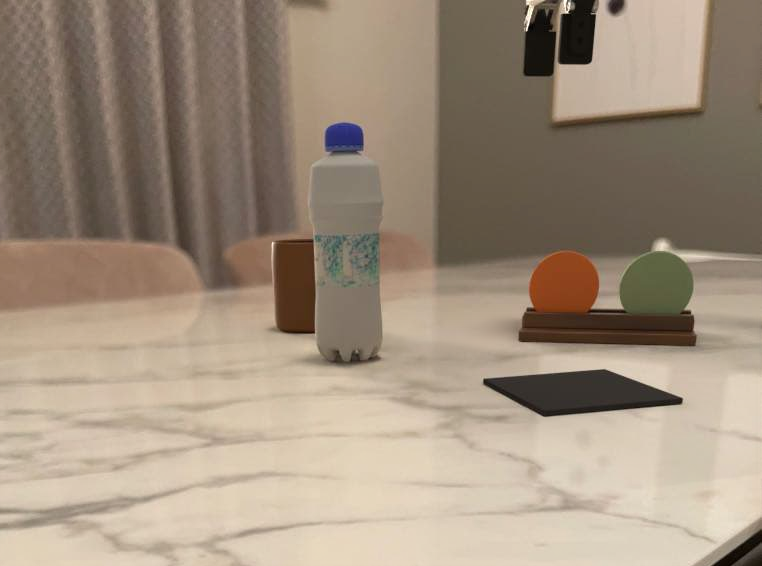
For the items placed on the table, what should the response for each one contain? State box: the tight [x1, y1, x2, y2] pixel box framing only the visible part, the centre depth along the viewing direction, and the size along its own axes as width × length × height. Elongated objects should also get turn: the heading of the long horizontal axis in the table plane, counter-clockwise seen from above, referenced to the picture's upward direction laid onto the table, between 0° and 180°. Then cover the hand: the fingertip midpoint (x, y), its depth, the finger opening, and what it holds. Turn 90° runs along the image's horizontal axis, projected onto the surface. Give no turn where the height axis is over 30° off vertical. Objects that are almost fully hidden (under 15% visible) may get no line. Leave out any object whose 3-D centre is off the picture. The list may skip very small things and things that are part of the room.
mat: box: [482, 368, 684, 417], centre depth 65 cm, size 11×11×1 cm
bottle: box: [307, 121, 384, 363], centre depth 76 cm, size 7×7×20 cm
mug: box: [271, 238, 316, 333], centre depth 95 cm, size 12×8×9 cm, turn 81°
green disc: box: [618, 250, 695, 314], centre depth 85 cm, size 2×7×7 cm, turn 75°
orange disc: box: [528, 250, 600, 313], centre depth 87 cm, size 2×7×7 cm, turn 75°
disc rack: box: [517, 306, 697, 347], centre depth 88 cm, size 9×17×2 cm, turn 75°
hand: (555, 70), depth 83 cm, fingers open, 9 cm apart
